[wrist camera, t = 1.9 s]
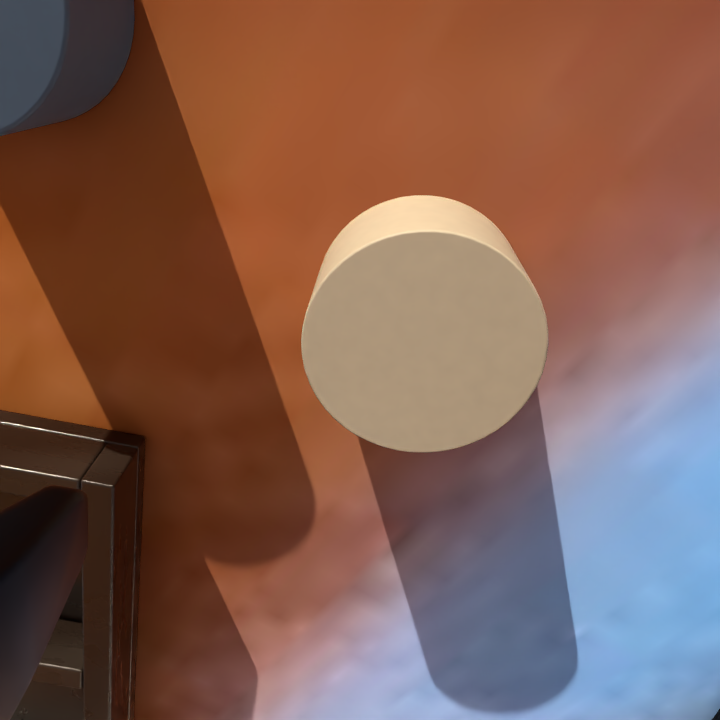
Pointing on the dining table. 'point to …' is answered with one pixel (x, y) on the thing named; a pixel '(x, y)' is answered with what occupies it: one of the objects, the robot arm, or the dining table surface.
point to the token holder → (84, 564)
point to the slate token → (59, 58)
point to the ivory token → (423, 327)
